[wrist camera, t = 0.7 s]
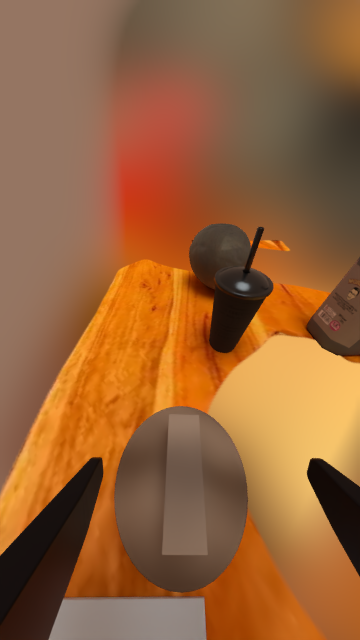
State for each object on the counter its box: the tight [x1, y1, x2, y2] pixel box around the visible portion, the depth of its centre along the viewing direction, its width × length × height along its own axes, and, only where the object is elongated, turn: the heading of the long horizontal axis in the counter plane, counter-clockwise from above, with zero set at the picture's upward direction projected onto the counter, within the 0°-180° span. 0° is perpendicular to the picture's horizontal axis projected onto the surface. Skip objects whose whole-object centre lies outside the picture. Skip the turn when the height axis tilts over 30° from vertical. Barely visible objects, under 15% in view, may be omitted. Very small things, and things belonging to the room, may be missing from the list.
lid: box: [114, 406, 248, 593], centre depth 14 cm, size 11×11×5 cm
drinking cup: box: [209, 227, 273, 353], centre depth 25 cm, size 8×8×20 cm
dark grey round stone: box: [189, 224, 251, 289], centre depth 41 cm, size 14×14×15 cm
